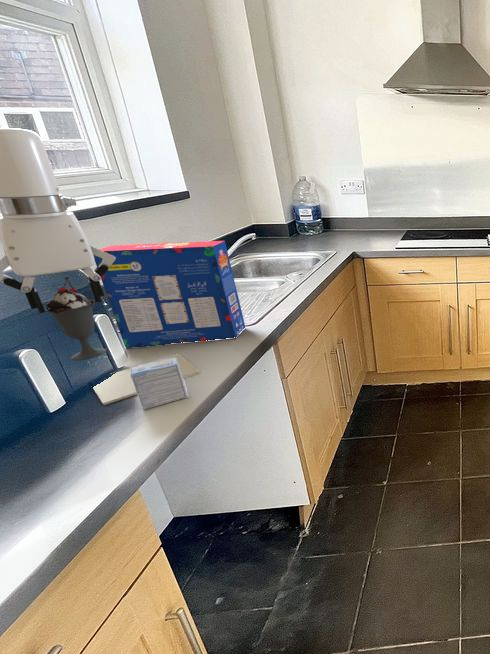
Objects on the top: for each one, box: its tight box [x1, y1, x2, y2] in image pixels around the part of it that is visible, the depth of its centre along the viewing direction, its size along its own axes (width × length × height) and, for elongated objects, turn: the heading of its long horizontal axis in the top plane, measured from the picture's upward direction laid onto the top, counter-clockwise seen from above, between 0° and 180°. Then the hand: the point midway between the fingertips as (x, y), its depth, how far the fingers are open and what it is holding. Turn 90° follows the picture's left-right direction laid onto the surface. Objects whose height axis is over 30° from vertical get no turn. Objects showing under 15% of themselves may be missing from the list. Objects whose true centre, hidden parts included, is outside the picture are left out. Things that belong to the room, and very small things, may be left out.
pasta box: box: [93, 240, 246, 349], centre depth 119 cm, size 28×8×28 cm, turn 103°
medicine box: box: [131, 358, 189, 411], centre depth 91 cm, size 8×4×9 cm, turn 130°
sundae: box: [44, 276, 107, 362], centre depth 77 cm, size 7×7×15 cm
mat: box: [92, 353, 201, 406], centre depth 101 cm, size 18×16×1 cm
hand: (70, 305), depth 76 cm, fingers closed on sundae, 6 cm apart
